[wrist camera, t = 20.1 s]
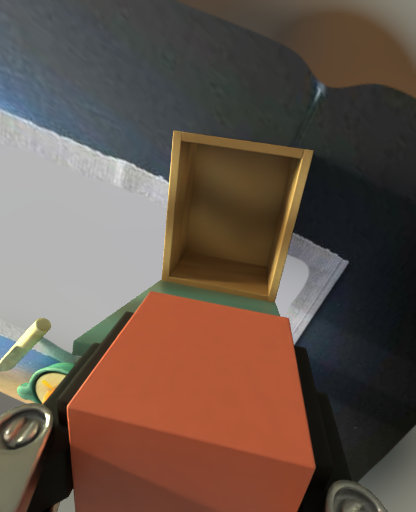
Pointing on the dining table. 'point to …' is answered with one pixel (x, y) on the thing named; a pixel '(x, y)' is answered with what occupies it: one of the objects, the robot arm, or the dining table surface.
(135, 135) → the dining table surface
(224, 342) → the block
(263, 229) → the light wood open box
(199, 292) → the green box lid
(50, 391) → the toy juicer set
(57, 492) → the robot arm
